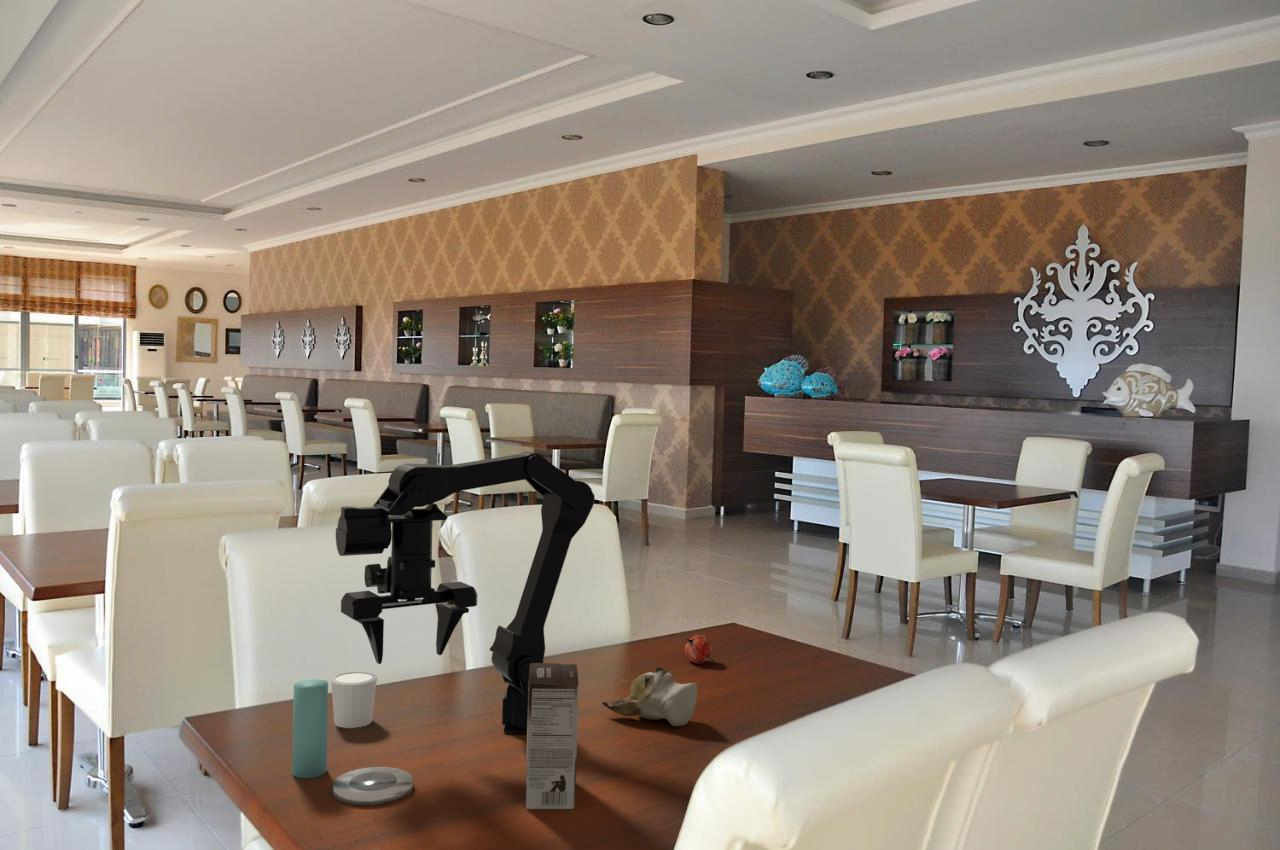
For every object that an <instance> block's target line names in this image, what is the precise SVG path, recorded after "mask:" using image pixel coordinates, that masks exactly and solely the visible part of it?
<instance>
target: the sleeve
mask: <svg viewBox="0 0 1280 850" xmlns="http://www.w3.org/2000/svg"><path fill="white" fill-rule="evenodd" d="M292 701H293V704H292V705H293V706H292V707H293V710H292V712H293V713H292V715H293V717H292V754H291V755H292V756H291V757H292V759H291V761H292V767H291V768H292V769H291V771H292V772H291V775H292V776H293V777H294V778H299V779H313V778H317V777H321V776H323V775H325V774H326V773H327V767H328V766H327V764H328V763H327V760H328V759H327V758H328V718H329V717H328V710H329V706H328V705H329V681H327V680H325V679H319V678H311V679H310V678H309V679H303V680H299V681H296V682H295V683H294V684H293V700H292Z"/></svg>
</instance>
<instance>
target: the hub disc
mask: <svg viewBox="0 0 1280 850" xmlns="http://www.w3.org/2000/svg"><path fill="white" fill-rule="evenodd" d="M413 784H414V778H413V776H412V774H411V773H409V771H406V770H404V769H402V768H397V767H390V766H369V767H362V768H358V769H353V770H350V771H347V772H345V773H342V774H341V775H340V776H338V777H337V778H336V779H335V780H334V781H333V784H332V796H333V797H334V798H335V799H336V800H337V801H339V802H341V803H344V804H348V805H353V806H377V805H378V806H380V805H384V803H385V804H388V803H387V802H390V803H392V802H391V801H393V802H395V801H394V800H396V801H399V800H401V799H403V798H405V797H406V795H407V796H408V795H409V794H410V793H411V792H412V791H413V786H414V785H413ZM404 796H405V797H404ZM402 797H403V798H402ZM398 799H399V800H398Z"/></svg>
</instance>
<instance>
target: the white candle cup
mask: <svg viewBox="0 0 1280 850" xmlns="http://www.w3.org/2000/svg"><path fill="white" fill-rule="evenodd" d="M377 680H378V677H377V675H376V674H374V673H371V672H366V671H351V672H350V671H348V672H343V673H338V674H336V675H334V676H332V678H330V681H331V683H330V684H331V694H332V706H333V708H332V709H333V710H332V711H333V722H334V725H335V726H337V727H338V728H342V727H343V729H358V728H357V727H359V728H362V726H363V727H366V726H368V725H370V724H371V723H372V722H373V716H374V707H375V699H376V690H377V689H376V688H377V683H378V681H377Z"/></svg>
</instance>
